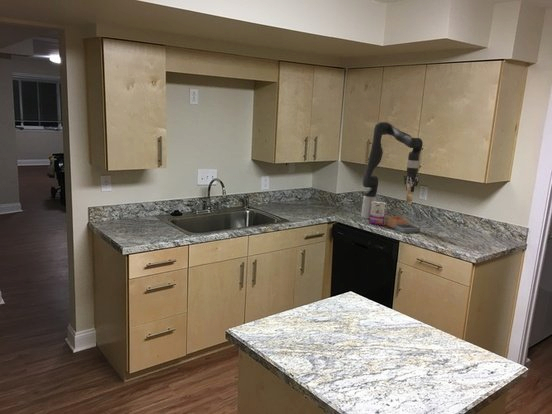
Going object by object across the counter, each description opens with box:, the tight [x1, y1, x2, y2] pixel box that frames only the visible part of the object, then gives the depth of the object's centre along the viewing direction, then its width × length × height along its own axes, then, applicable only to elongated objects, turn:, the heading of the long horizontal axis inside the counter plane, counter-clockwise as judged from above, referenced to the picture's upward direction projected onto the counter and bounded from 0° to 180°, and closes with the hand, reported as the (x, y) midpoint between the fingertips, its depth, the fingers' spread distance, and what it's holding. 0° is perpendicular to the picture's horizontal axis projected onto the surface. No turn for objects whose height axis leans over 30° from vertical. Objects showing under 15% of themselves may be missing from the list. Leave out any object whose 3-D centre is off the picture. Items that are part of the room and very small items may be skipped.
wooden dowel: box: [405, 184, 414, 205], centre depth 318 cm, size 4×4×14 cm
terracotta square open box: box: [386, 215, 408, 229], centre depth 332 cm, size 10×10×6 cm
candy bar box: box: [368, 200, 388, 226], centre depth 336 cm, size 11×5×16 cm, turn 62°
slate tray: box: [392, 223, 420, 234], centre depth 323 cm, size 11×14×3 cm
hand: (410, 191), depth 318 cm, fingers closed on wooden dowel, 4 cm apart
